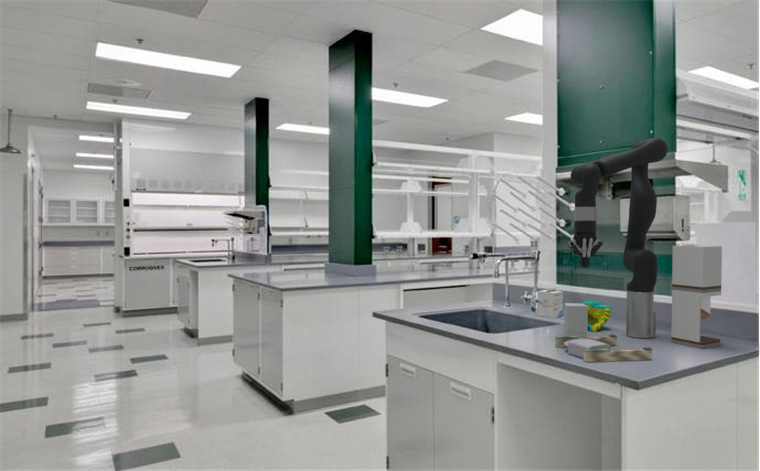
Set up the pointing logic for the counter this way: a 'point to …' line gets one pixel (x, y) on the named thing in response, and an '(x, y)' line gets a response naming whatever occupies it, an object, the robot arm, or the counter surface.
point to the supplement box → (575, 319)
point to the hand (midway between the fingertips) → (584, 267)
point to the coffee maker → (694, 292)
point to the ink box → (550, 303)
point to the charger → (584, 346)
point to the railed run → (606, 350)
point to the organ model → (597, 315)
